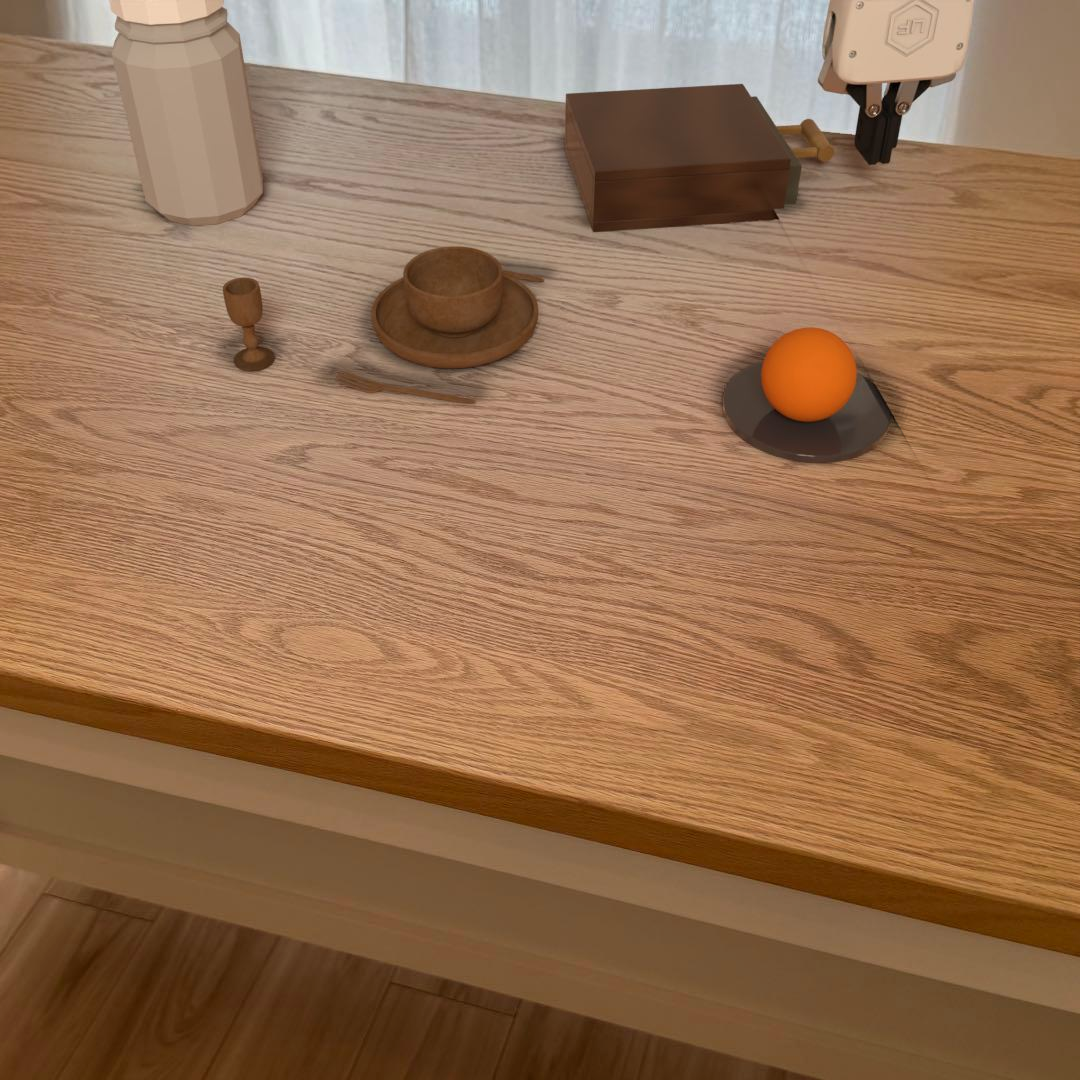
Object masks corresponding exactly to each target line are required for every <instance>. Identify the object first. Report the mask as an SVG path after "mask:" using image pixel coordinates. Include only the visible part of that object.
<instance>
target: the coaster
mask: <svg viewBox="0 0 1080 1080" xmlns="http://www.w3.org/2000/svg"><path fill="white" fill-rule="evenodd" d="M763 361H764V360H762V361H759V362H756V363H753V364H750V365H749V366H747V367H745V368H743V369H742V370H739V372H737V373H736V374H735V375H733V376H732V378H731V379H730V380H729V381H728V383H727V385H726V386H725V389H724V391H723V397H722V413H723V416H724V417H725V420H726V423H727V424H728V426H729V427H730V429H732V431H733V432H734V433H735V434H736V435H737V436H738V437H739V438H740V439H742V440H743V441H744V442H745V443H747V444H749V445H750V446H752V447H753V448H755V449H757V450H759V451H761V452H763V453H766V454H769V455H772V456H774V457H776V458H781V459H783V460H787V461H794V462H798V463H807V464H830V463H831V464H832V463H839V462H845V461H849V460H852V459H855V458H858V457H860V456H863V455H866V454H867V453H870V452H871V451H873V450H874V449H875V448H877V446H878V445H879V444H880V443H882V441H884V439H885V437H886V436H887V433H888V432H889V428H890V424H891V420H892V411H891V409H890V407H889V405H888V403H887V402H886V400H885V398H884V397H883V395H882V392H881V391H880V390H879V387H878V386H877V385H876V384H875V383H874V382H872V381H871V380H870V379H869V378H868V377H866V376H864V375H863V374H861V373H859V372H857V378H856V384H855V388H854V391H853V393H852V395H851V397H850V398H849V400H848V402H847V403H846V404H845V405H844V406H843V407H842V408H841V409H840V410H839V411H838V412H836V413H835V414H833V415H832V416H830V417H828V418H825V419H822V420H818V421H812V422H803V421H797V420H793V419H791V418H788V417H786V416H784V415H782V414H781V413H780V412H778V411H777V410H776V409H775V408H774V407H773V406H772V405H771V404H770V402H769V401H768V399H767V397H766V395H765V393H764V390H763V386H762V380H761V371H762V365H763Z"/></svg>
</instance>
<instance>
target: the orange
mask: <svg viewBox="0 0 1080 1080" xmlns="http://www.w3.org/2000/svg"><path fill="white" fill-rule="evenodd" d="M762 361H763V365H762V371H761V380H762V386H763V390H764V393H765V395H766V397H767V399H768V401H769V402H770V404H771V405H772V406H773V407H774V408H775V409H776V410H777V411H778V412H780V413H781V414H782V415H784V416H786V417H788V418H791V419H793V420H797V421H803V422H812V421H818V420H822V419H825V418H828V417H830V416H832V415H833V414H835V413H836V412H838V411H839V410H840V409H841V408H842V407H843V406H844V405H845V404H846V403H847V402H848V400H849V398H850V397H851V395H852V393H853V391H854V388H855V384H856V378H857V373H858V369H857V362H856V359H855V356H854V354H853V352H852V350H851V349H850V347H849V345H848V344H847V343H846V342H845V341H844V340H843V339H842V338H841V337H840V336H838V335H836V334H835V333H833V332H832V331H829V330H828V329H824V328H819V327H811V326H810V327H801V328H797V329H794V330H791V331H788V332H787V333H785V334H784V335H782V336H780V337H779V338H778V339H777V340H776V341H775V342H774V343H773V344H772V345H771V346H770V348H769V350H768V351H767V352H766V354H765V357H764V358H763V360H762Z"/></svg>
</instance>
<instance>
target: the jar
mask: <svg viewBox="0 0 1080 1080" xmlns="http://www.w3.org/2000/svg"><path fill="white" fill-rule="evenodd" d="M224 1H225V0H108V2H109V6H110V11H111V13H112V14H113V15H116V19H115V22H114V30H115V31H116V32H118V33H117V35H116V37H115V39H114V41H113V46H112V50H111V58H112V63H113V66H114V70H115V75H116V79H117V84H118V88H119V92H120V96H121V101H122V105H123V111H124V114H125V118H126V122H127V127H128V131H129V134H130V139H131V143H132V148H133V152H134V156H135V160H136V161H135V162H136V165H137V169H138V173H139V178H140V183H141V187H142V192H143V195H144V201H145V202H146V203H147V204H148V205H150V206H151V207H152V208H153V209H154V210H156V211H157V212H158V213H159V214H161V215H162V216H163V217H164V218H166V219H167V220H168V221H169V222H172V223H178V224H183V225H188V226H191V227H194V226H207V225H209V226H210V225H219V224H222V223H225V222H228V221H231V220H234V219H237V218H240V217H242V216H243V215H245V214H246V213H247V212H248V211H250V209H252V208H253V207H254V206H255V205H256V203H258V201H259V200H260V197H261V196H262V195H263V193H264V177H263V171H262V165H261V159H260V158H261V157H260V152H259V147H258V140H257V134H256V128H255V122H254V115H253V109H252V103H251V97H250V90H249V84H248V78H247V71H246V66H245V59H244V54H243V46H242V40H241V34H240V33H239V32H238V31H237V30H236V28H234V26H232V25H231V24H230V23H229V22H228V9H227V8H225V7H224V4H225V3H224Z"/></svg>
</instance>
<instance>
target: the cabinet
mask: <svg viewBox="0 0 1080 1080" xmlns="http://www.w3.org/2000/svg"><path fill="white" fill-rule="evenodd" d="M752 97H753V96H751V94H750V93H749V91H748V90H747V88H746V86H745V85H744V84H743V83H731V84H715V85H714V84H713V85H711V84H710V85H695V86H680V87H679V86H677V87H663V88H662V87H659V88H658V87H657V88H642V89H624V90H609V91H608V90H606V91H590V92H589V91H587V92H586V91H585V92H571V93H570V92H569V93H565V112H564V113H565V114H564V115H565V119H564V152H565V155H566V158H567V159H566V160H567V161H568V164H569V167H570V170H571V172H572V175H573V179H574V181H575V184H576V187H577V190H578V193H579V195H580V198H581V201H582V204H583V207H584V210H585V213H586V215H587V218H588V221H589V224H590V228H591V230H592V232H593V233H596V232H597V233H599V232H601V233H602V232H613V231H614V232H615V231H628V230H644V229H658V228H672V227H673V228H675V227H687V226H701V225H702V224H705V225H716V224H717V223H719V224H731V223H730V222H734V223H744V222H745V221H749V222H760V221H759V220H764V221H775V220H774V219H778V220H780V218H779V216H778V214H777V213H776V210H779V209H780V210H781V209H785V205H784V204H785V198H786V191H787V184H788V177H789V171H790V163H791V158H790V157H789V155H788V153H787V152H786V150H785V149H784V147H783V146H782V144H781V143H780V141H779V139H778V138H777V136H776V135H775V133H774V132H773V130H772V128H771V127H770V125H769V124H768V122H767V121H766V119H765V118H764V116H763V114H762V113H761V111H760V110H759V108H758V107H757V105H756V104H755V102H754V100H753V99H752ZM745 223H746V222H745ZM717 225H718V224H717ZM702 226H703V225H702Z"/></svg>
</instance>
